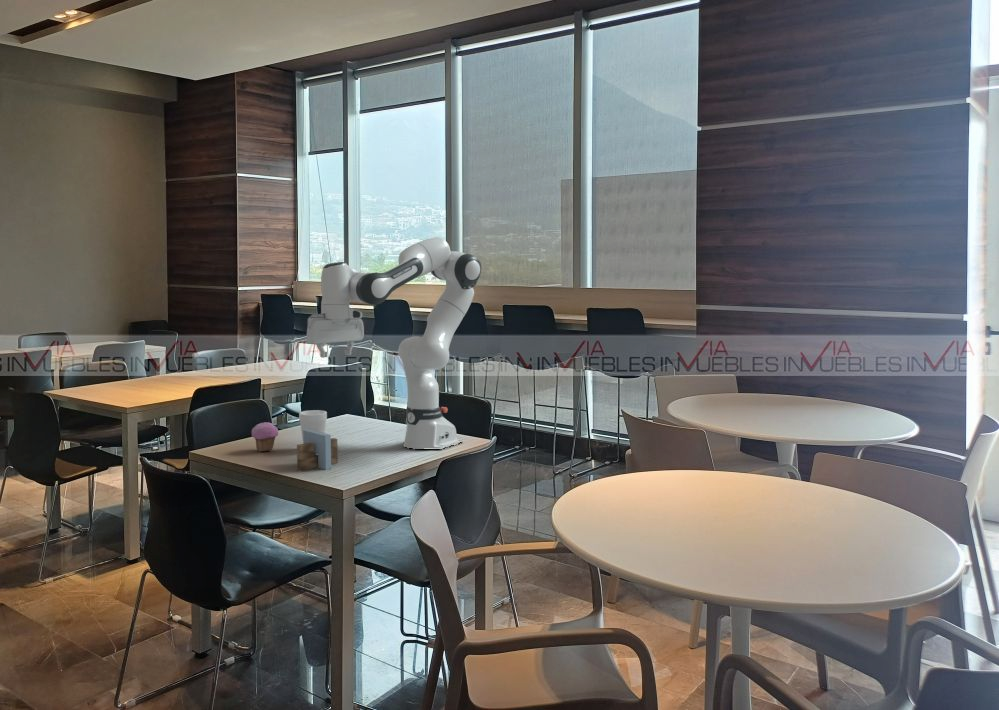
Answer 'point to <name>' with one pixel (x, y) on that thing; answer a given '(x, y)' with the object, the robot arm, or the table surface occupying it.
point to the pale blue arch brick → (320, 447)
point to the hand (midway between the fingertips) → (336, 356)
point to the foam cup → (313, 420)
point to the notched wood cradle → (308, 458)
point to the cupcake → (264, 436)
